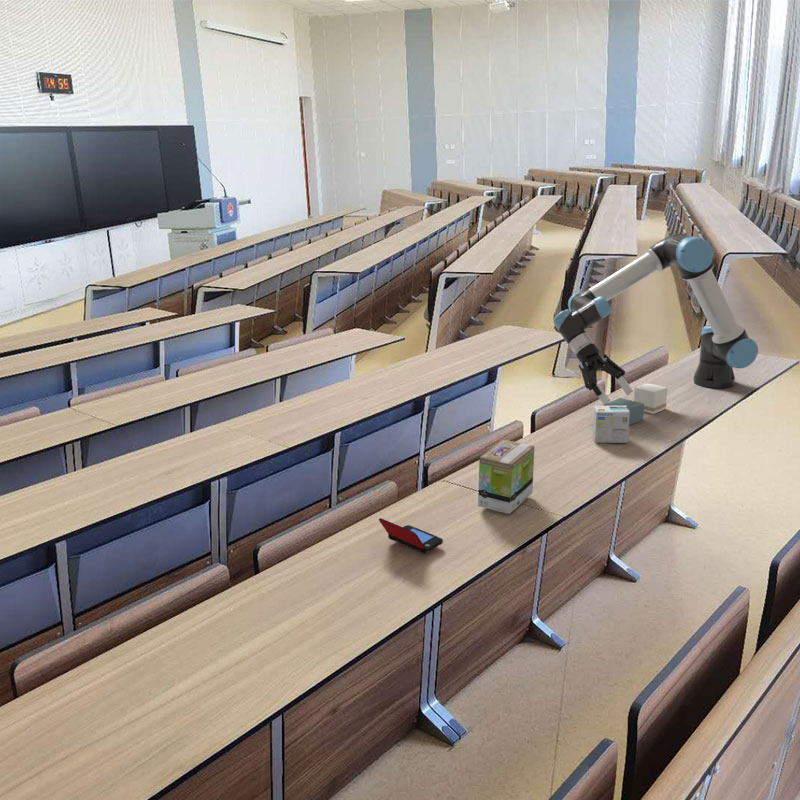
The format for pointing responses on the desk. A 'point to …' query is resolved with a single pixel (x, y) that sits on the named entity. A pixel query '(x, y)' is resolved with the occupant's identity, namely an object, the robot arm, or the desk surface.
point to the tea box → (505, 476)
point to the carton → (651, 397)
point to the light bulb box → (611, 424)
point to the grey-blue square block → (630, 409)
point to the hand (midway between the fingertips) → (618, 397)
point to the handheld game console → (411, 536)
